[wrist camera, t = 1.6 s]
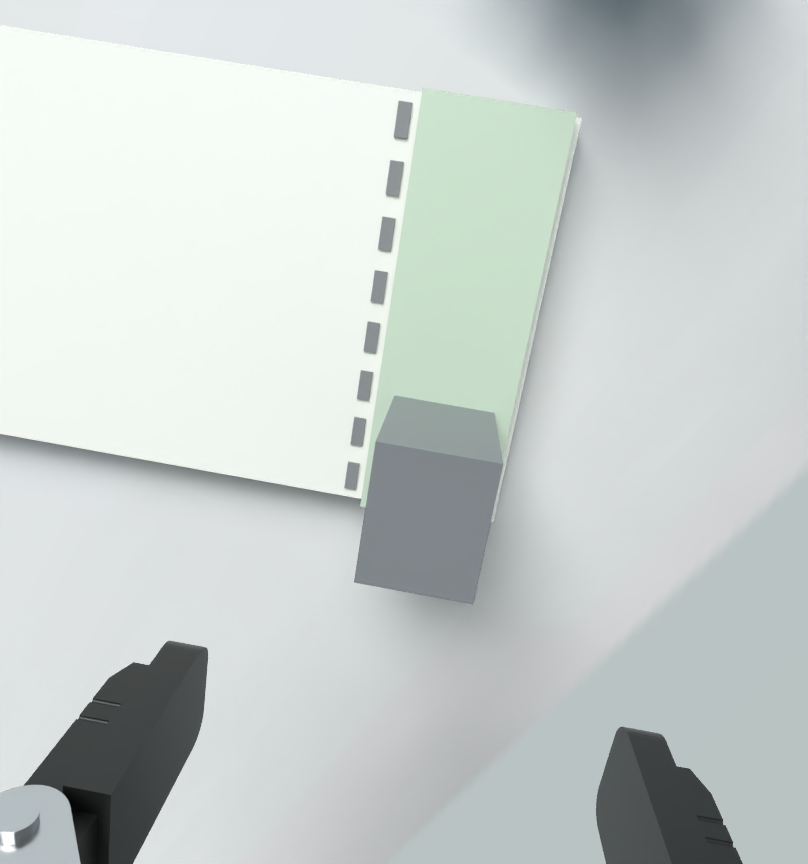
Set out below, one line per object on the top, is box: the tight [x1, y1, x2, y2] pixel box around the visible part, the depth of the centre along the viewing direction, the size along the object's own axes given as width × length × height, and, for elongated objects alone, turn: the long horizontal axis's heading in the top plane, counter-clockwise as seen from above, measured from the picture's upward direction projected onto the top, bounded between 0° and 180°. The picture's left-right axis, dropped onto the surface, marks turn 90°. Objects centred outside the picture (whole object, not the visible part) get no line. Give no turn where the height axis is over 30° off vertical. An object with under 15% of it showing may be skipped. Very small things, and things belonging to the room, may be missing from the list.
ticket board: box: [0, 25, 582, 523], centre depth 27 cm, size 16×24×2 cm, turn 81°
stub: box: [354, 88, 577, 604], centre depth 23 cm, size 16×5×7 cm, turn 171°
